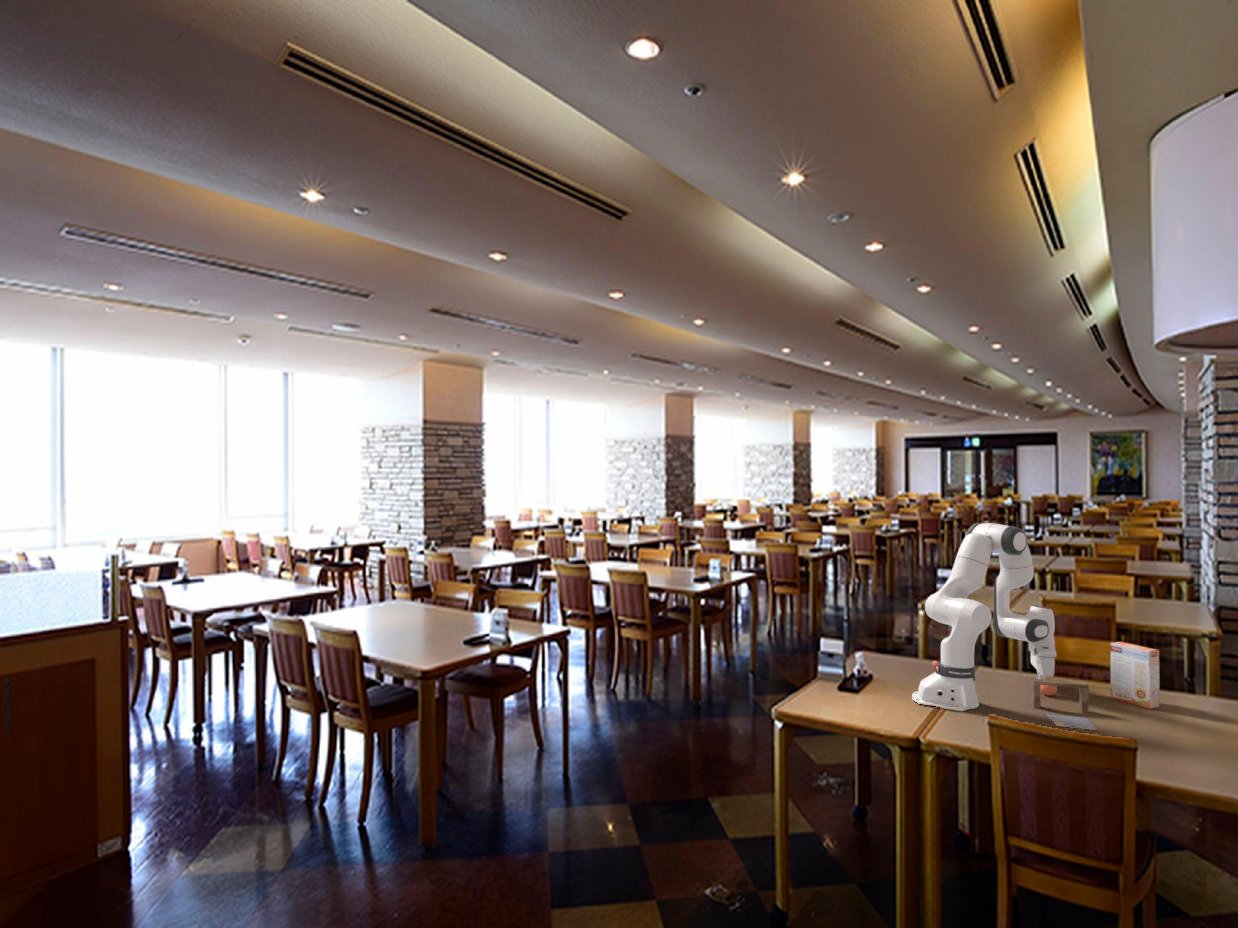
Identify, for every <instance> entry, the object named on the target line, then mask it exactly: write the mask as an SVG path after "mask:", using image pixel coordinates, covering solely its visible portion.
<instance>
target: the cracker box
mask: <svg viewBox="0 0 1238 928" xmlns="http://www.w3.org/2000/svg"><path fill="white" fill-rule="evenodd" d="M1110 698H1111V699H1114V700H1116V701H1117V700H1118V701H1121V702H1124V703H1128V704H1130V705H1135V706H1139V707H1142V708H1145V709H1147V708H1148V709H1147V710H1151V709H1156V708H1157V709H1158V708H1160V650H1159V649H1156V648H1152V647H1151V648H1150V647H1147V646H1142V645H1137V644H1132V643H1129V642H1124V641H1116V642H1110Z"/></svg>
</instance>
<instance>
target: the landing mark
mask: <svg viewBox="0 0 1238 928" xmlns="http://www.w3.org/2000/svg"><path fill="white" fill-rule="evenodd" d="M1046 716H1047V717H1048V718H1049V720H1050V719H1051V720H1053V719H1054V720H1062V721H1051V720H1050V721H1051V722H1052V723H1053V722H1062V723H1065V724H1064V725H1069V728H1068V729H1073V728H1078V729H1077V730H1081V729H1080V727H1075V726H1086V727H1081V728H1095V730H1098V728H1096V727H1095V726H1094V725H1093V723H1092V722H1091V721H1090V720H1089V719H1088V718H1087V717H1082V716H1081V717H1080V716H1071V715H1059V714H1049V713H1046ZM1090 726H1094V727H1090ZM1088 731H1094V729H1089V730H1088Z"/></svg>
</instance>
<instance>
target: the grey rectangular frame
mask: <svg viewBox="0 0 1238 928" xmlns="http://www.w3.org/2000/svg"><path fill="white" fill-rule="evenodd" d="M1040 685H1048V686H1057V687H1062V688H1072V689H1073V688H1074V689H1079V694H1078V695H1079V697H1078V698H1079V700H1078V701H1079V711H1080V712H1081V713H1084V714H1085V713H1086V714H1089V713H1090V712H1089V710H1090V709H1089V707H1090V706H1089V699H1090V698H1089V695H1090V694H1089V689H1090V688H1089V685H1088V683H1087V682H1077V681H1065V680H1055V679H1054V680H1053V679H1049V680H1043V679H1038V678H1031V706H1032V707H1033V708H1034V709H1041V691H1040Z"/></svg>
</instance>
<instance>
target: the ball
mask: <svg viewBox="0 0 1238 928" xmlns="http://www.w3.org/2000/svg"><path fill="white" fill-rule="evenodd" d="M1044 680H1050V678H1049V679H1048V678H1045V679H1044ZM1057 692H1058V686H1048V685H1040V693H1041V694H1043V695H1045V696H1048V697H1050V696H1054V695H1055V694H1057Z"/></svg>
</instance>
